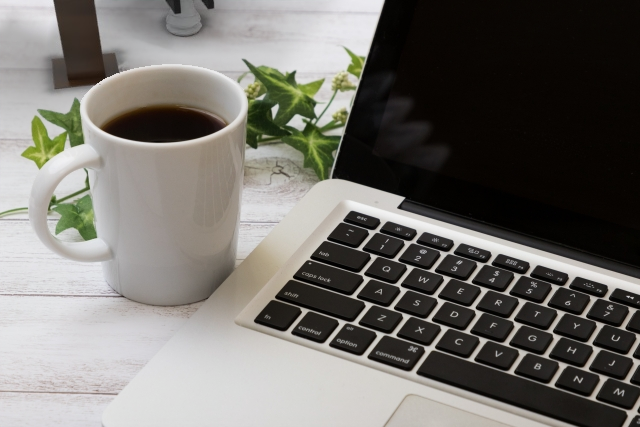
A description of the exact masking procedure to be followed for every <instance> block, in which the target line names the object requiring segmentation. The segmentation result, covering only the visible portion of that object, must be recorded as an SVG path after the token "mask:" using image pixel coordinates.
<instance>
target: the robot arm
mask: <svg viewBox="0 0 640 427" xmlns="http://www.w3.org/2000/svg"><path fill="white" fill-rule="evenodd" d="M165 2H166V4H167V5H168V7H169V9H170V8H171V9H172V11H173V12H174V14H180V13H181V4H180V0H165ZM200 2H202V4H203V5H204V6H205V8H206V9H207V10H214V9H215V0H200Z"/></svg>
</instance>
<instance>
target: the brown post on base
mask: <svg viewBox="0 0 640 427" xmlns="http://www.w3.org/2000/svg"><path fill="white" fill-rule="evenodd" d="M52 2H53V6H54V7H53V8H54V12H55V18H56V22H57V28H58V33H59V40H60V44H61V51H62V55H63V57H59V58H51V66H52V67H51V68H52V78H53V89H54V90H60V89H70V88H71V89H72V88H79V87H89V86H97V85H96V84H97V83H99V82H100V81H102V80H103V79H105V78H107V77H110V76H112V75H114V74H116V73H119V74H120V70H119V65H118V61H117V56H116V53H115V52H107V53H103V49H102V43H101V42H102V41H101V36H100V28H99V23H98V16H97V10H96V2H95V0H52Z"/></svg>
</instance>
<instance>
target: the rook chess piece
mask: <svg viewBox="0 0 640 427" xmlns="http://www.w3.org/2000/svg"><path fill="white" fill-rule="evenodd" d="M180 4H181V13H180V14H174V12H173V11H172V9H171V8H170V7H169V9H168V13H167V14H166V16H165V21H166V25H165V28H166V30H167V31H168V32H169V33H170V34H172V35H175V36H179V37H180V36H181V37H187V36H192V35H195V34H197V33H198V32H200V30H201V28H202V26H203V25H202V22H201V20H202V18H201V15H200V13H199V12H198V11H197V10H198V9H197V8H196V7H195V5H194V4H195V3H194V0H180Z"/></svg>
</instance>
